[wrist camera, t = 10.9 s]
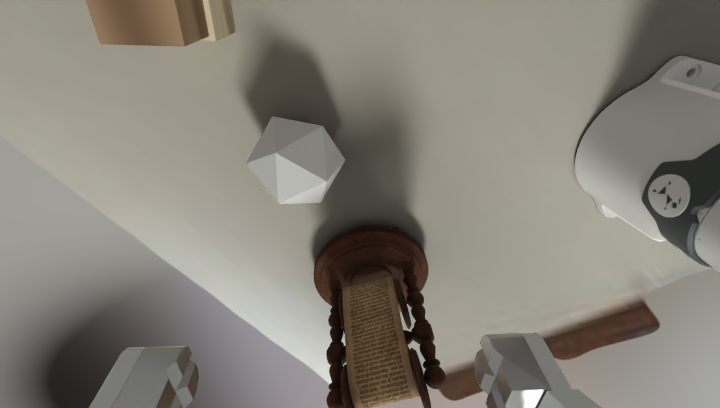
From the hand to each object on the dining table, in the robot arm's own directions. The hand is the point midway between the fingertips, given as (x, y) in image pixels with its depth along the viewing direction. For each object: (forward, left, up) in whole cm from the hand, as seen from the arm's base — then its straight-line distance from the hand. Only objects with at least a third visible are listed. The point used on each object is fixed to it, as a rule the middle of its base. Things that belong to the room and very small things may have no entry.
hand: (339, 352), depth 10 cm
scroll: (-4, +23, -29) cm, 37 cm away
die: (+4, +6, -29) cm, 30 cm away
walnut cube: (+12, -8, -23) cm, 27 cm away
